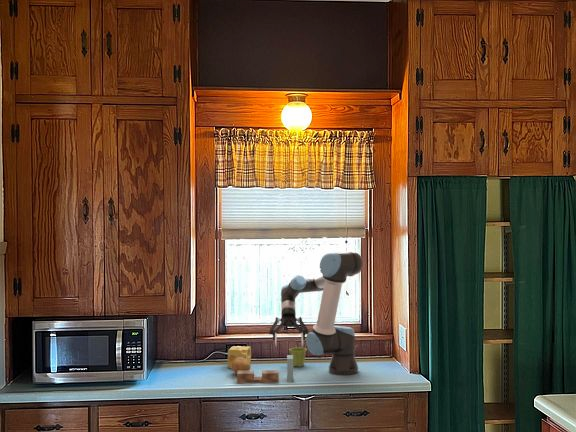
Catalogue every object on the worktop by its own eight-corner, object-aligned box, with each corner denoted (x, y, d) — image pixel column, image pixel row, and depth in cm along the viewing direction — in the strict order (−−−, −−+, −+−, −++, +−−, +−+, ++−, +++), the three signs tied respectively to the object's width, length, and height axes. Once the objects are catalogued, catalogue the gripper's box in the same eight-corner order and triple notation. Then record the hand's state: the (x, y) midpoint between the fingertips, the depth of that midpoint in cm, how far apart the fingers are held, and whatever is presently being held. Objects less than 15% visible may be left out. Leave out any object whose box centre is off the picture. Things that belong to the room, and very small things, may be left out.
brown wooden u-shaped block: (278, 379, 324) (278, 370, 324) (278, 382, 318) (278, 373, 318) (237, 379, 324) (237, 370, 324) (237, 382, 318) (237, 373, 318)
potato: (233, 378, 327) (233, 362, 327) (230, 371, 341) (230, 356, 341) (252, 377, 329) (252, 361, 329) (249, 370, 342) (249, 355, 342)
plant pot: (286, 364, 356) (286, 348, 356) (302, 362, 360) (302, 346, 360) (293, 368, 347) (293, 351, 347) (309, 366, 351) (309, 350, 351)
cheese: (246, 369, 346) (246, 350, 346) (226, 368, 348) (226, 349, 348) (251, 364, 356) (251, 346, 356) (232, 363, 358) (232, 345, 358)
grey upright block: (287, 377, 329) (287, 355, 329) (292, 377, 329) (292, 355, 329) (287, 381, 321) (287, 358, 321) (293, 381, 321) (293, 358, 321)
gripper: (311, 315, 355) (313, 348, 340) (265, 315, 354) (264, 349, 339) (312, 306, 349) (313, 340, 334) (264, 307, 349) (264, 340, 334)
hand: (289, 344), depth 337 cm, fingers open, 13 cm apart
